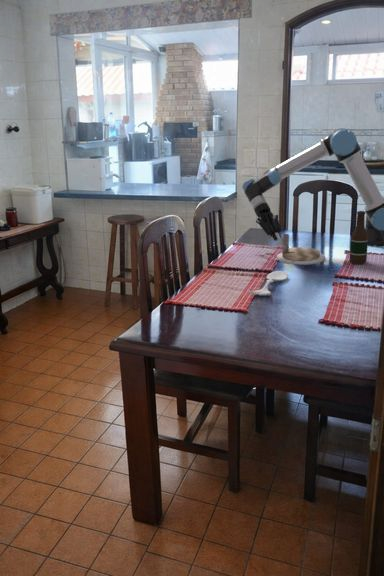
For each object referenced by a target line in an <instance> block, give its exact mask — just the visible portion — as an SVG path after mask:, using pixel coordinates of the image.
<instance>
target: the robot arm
mask: <svg viewBox="0 0 384 576" xmlns="http://www.w3.org/2000/svg"><path fill="white" fill-rule="evenodd" d="M357 140H358V139H357V136H356V134H355V133H354V131H352V130H350V129H349V128H337V129H335V130H334V131H333V132H331V133H330V134H328V135H326V136H325V137H324V138H321V140H320V142H318V143H316V144H314V145H313V146H311V147H309V148H307V149H305V150H304V151H302V152H301V151H300V152H299V153H298V154H296V155H293V156H292V157H290V158H288V159H287V160H285V161H283V162H281V163H279V164H278V165H275V166H274V167H272V168H270V169H267V170H266V171H265V172H263V175H262V176H261V177H259V178H258V179H256V180H255V179H254V178H249V179H247V180H246V181H244V182H243V183H242V187H241V188H242V190H243V191H244V194H245V196H246V198H247V199H248V202H249V203H250V206H251V207H252V209H253V211H254V213H255V215H256V217H257V218H256V220H255V223H256V224H258V225H259V226H260V228H261V229H262V230H263V231H264V233H265V234H266V235H267V236H269V237H271V238H272V239H273V240H274V241H275V243H276V245H277V246H278V247H282V241H283V238H282V235H281V234H280V233H281V231H282V227H281V225H280V220H279V215H278V214H276V215H275V214H273V212H272V210H271V208H270V205H269V204H268V202H267V200H266V198H265V196H264V193H266V192H268V191H269V190H271V189H272V188H273V187H275V186H278V185H279V184H280V183H282V181H283V180H284V179H285V178H287V177H289V176H291V175H293V174H295V173H297V172H298V171H301V170H303V169H304V168H306V167H308V166H310V165H312V164H314V163H315V162H317V161H319V160H321V159H323V158H325V157H331V156H333V155H335V157H336V159H337V162H338V163H341V164H343V166H344V168H345V169H346V172H347V173H348V175H349V177H350V179H351V180H352V183H353V184H354V185H355V186H354V187H355V188H356V190H357V192H358V193H359V196H360V197H361V199H362V201H363V202H364V205H365V206H364V210H363V211H364V212H365V230H366V231H367V234H368V246H371V247H383V246H384V196H383V195H382V194H381V192H380V190H379V188H378V186H377V184H376V183H375V180H374V179H373V177H372V175H371V173H370V171H369V169H368V167H367V166H366V164H365V161H364V159H363V157H362V155H361V151H362V149H361V146H360V144H359V142H358V141H357Z"/></svg>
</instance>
